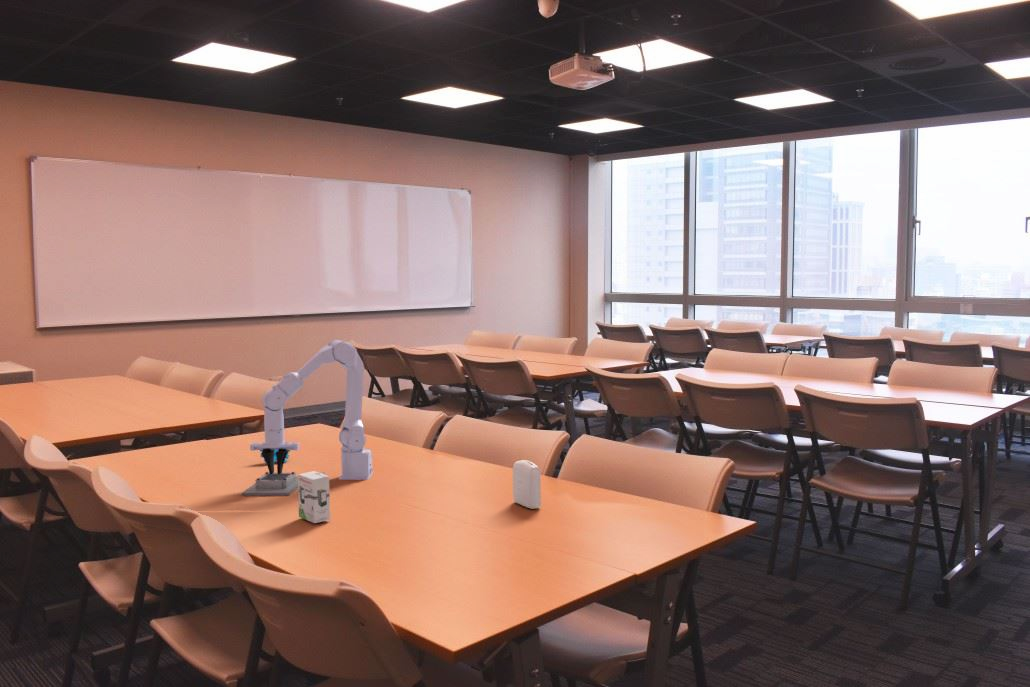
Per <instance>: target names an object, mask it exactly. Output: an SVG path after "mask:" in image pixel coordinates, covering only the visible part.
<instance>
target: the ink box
mask: <svg viewBox="0 0 1030 687" xmlns="http://www.w3.org/2000/svg"><path fill="white" fill-rule="evenodd" d="M297 477H298V488H297V489H298V490H297V491H298V493H297V494H298V495H297V496H298V517H299V518H301V519H303V520H306V521H308V522H311V523H313V524H317V523H321V522H327V521H330V520H331V503H330V502H331V501H330V499H331V498H330V496H331V495H330V476H329V475H327V474H325V475H324V474H322V473H319V471H316V470H312V471H307V472H303V473H299V474H297Z"/></svg>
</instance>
